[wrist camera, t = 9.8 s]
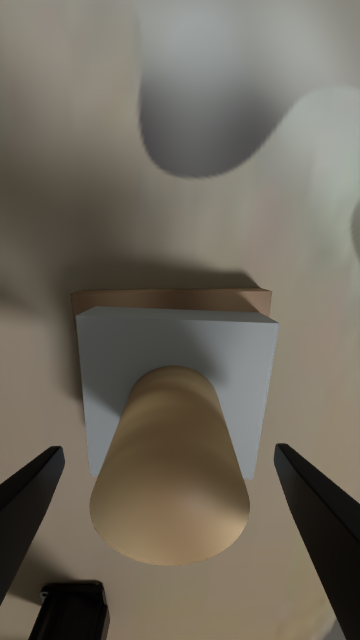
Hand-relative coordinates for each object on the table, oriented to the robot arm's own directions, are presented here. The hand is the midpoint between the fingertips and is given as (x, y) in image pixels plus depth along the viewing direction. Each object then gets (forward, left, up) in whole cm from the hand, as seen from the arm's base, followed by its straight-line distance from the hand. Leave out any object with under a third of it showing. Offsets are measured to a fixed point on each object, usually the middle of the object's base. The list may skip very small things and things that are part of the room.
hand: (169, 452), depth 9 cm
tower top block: (0, 0, -5) cm, 5 cm away
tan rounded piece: (0, 0, -3) cm, 3 cm away
